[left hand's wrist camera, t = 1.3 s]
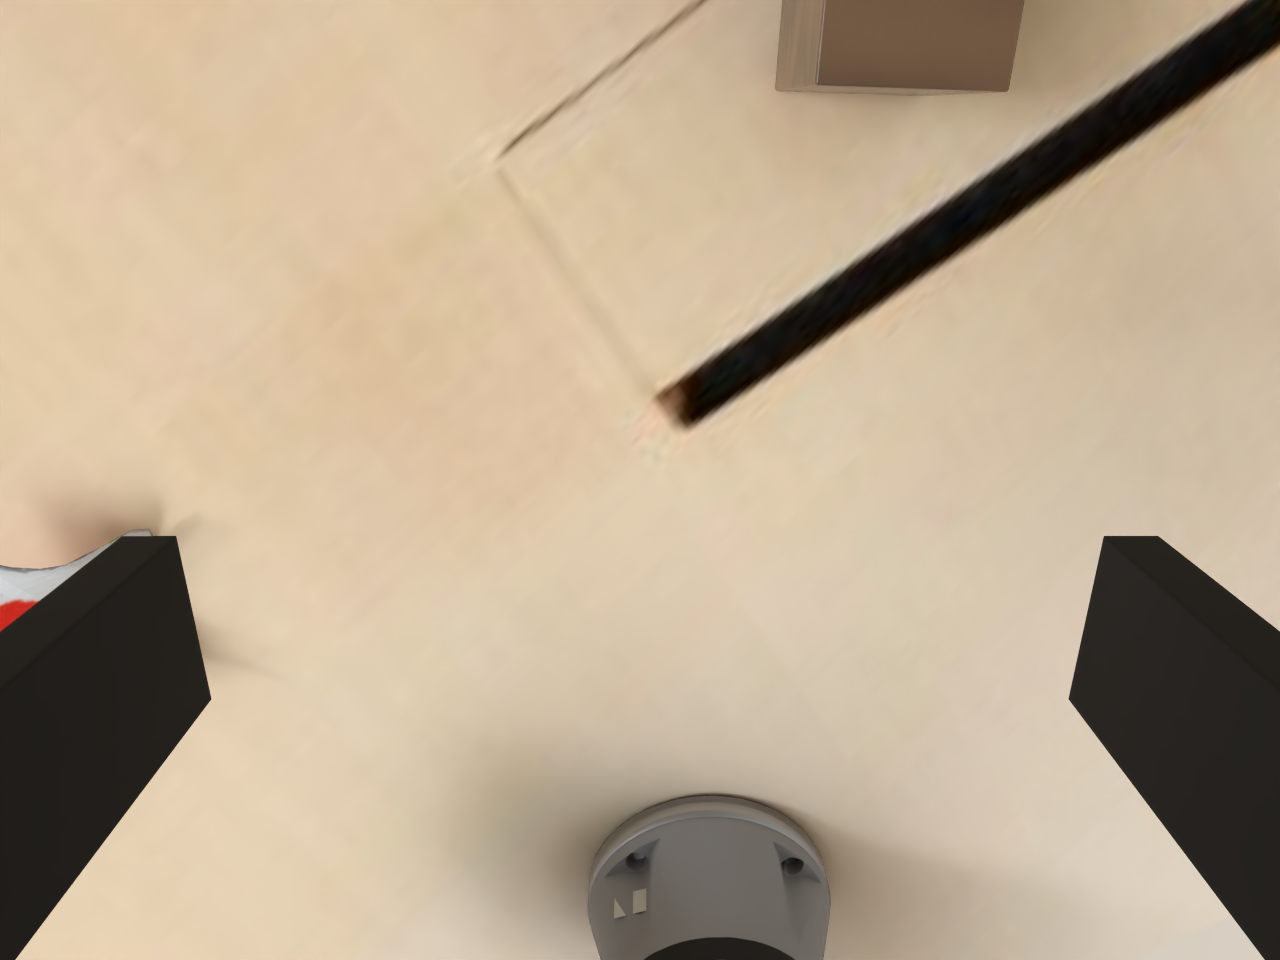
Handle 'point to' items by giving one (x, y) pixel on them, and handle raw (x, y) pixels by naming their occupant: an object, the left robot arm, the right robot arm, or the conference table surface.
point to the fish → (39, 582)
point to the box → (897, 46)
